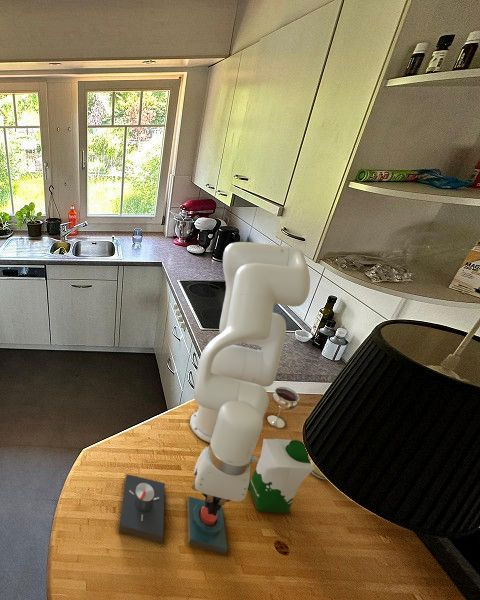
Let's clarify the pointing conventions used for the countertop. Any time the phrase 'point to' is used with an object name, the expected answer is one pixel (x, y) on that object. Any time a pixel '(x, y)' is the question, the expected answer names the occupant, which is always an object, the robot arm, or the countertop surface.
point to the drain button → (207, 517)
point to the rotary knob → (144, 497)
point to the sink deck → (138, 521)
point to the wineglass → (283, 404)
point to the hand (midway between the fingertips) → (211, 508)
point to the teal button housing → (205, 528)
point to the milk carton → (279, 474)
